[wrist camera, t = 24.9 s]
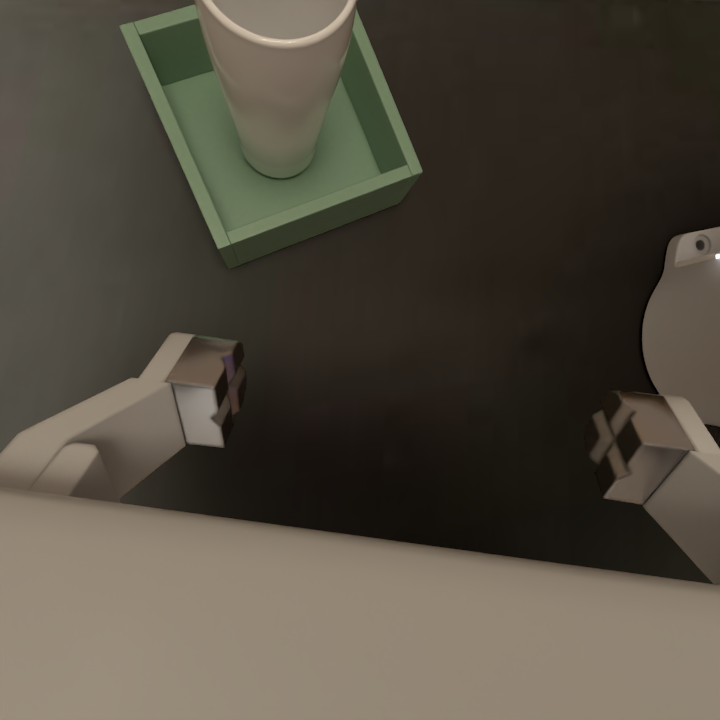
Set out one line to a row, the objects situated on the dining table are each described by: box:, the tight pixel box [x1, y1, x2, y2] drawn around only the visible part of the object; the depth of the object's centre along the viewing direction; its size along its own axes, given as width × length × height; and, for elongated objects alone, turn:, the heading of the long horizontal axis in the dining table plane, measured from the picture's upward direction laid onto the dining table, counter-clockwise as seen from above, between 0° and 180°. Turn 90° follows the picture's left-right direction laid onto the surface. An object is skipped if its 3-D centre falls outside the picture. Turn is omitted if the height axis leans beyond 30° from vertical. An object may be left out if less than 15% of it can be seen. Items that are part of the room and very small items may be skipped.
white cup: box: [194, 0, 357, 178], centre depth 25 cm, size 7×7×15 cm
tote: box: [120, 5, 423, 269], centre depth 30 cm, size 14×14×6 cm
